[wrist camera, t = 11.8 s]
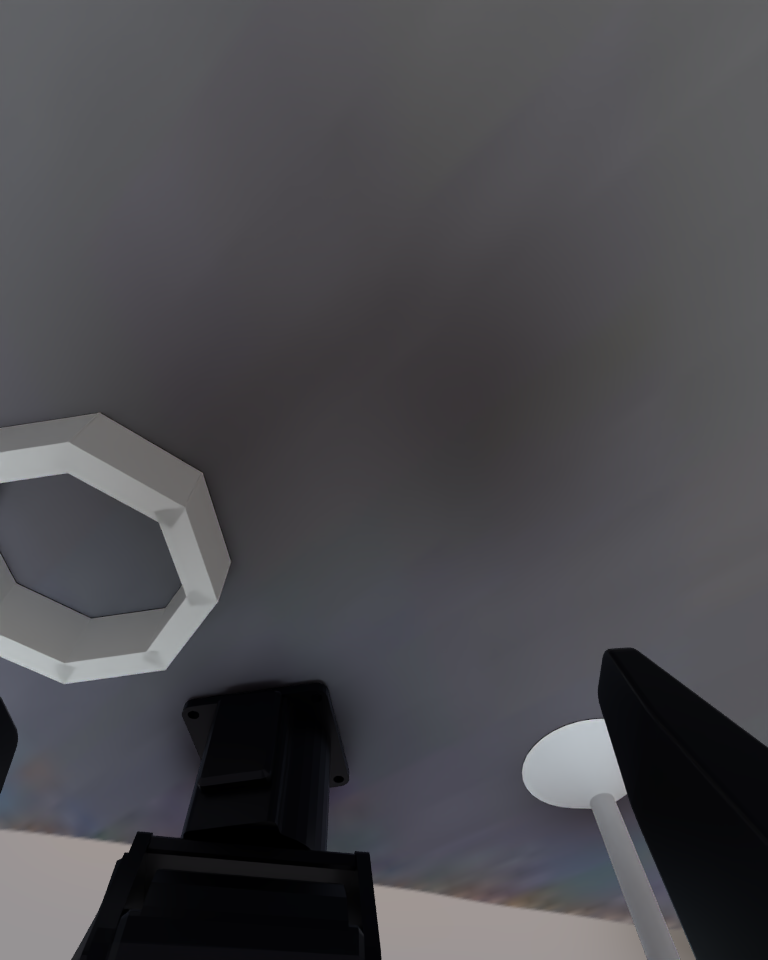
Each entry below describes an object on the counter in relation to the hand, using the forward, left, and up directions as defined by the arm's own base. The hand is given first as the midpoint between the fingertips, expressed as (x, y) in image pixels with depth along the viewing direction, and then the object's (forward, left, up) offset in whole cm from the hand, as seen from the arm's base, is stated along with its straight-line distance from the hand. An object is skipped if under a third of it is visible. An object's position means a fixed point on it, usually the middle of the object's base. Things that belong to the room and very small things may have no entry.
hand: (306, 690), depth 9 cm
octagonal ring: (-4, +10, -13) cm, 17 cm away
